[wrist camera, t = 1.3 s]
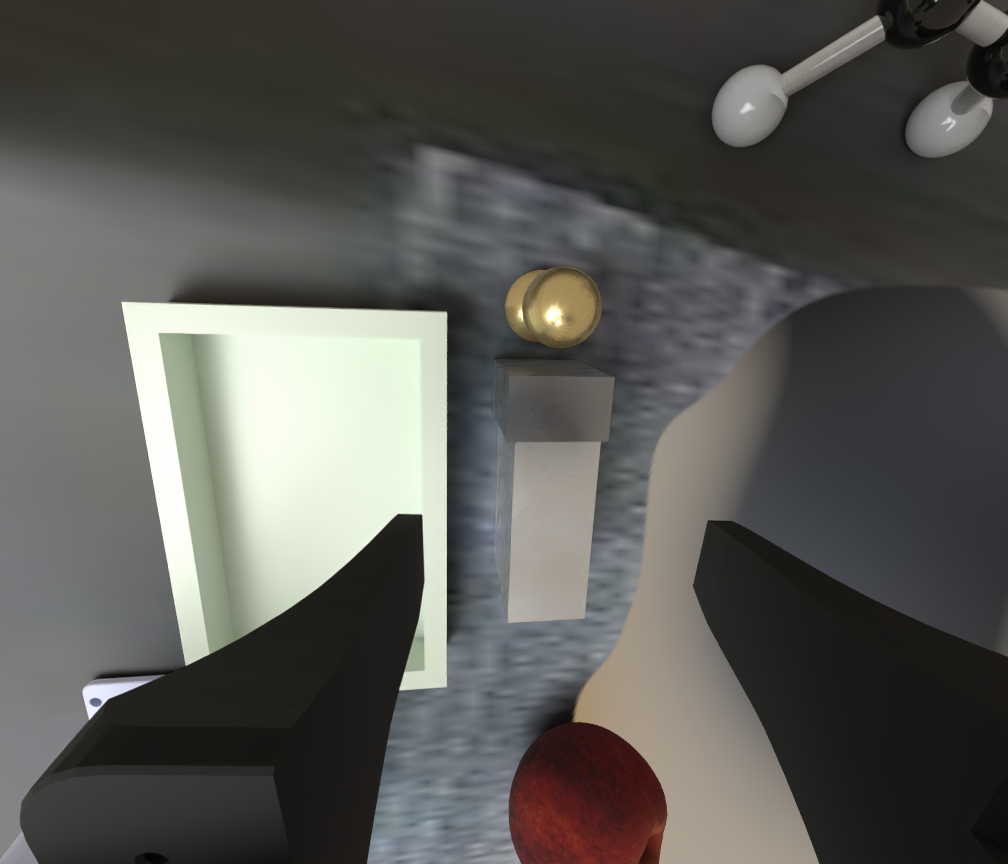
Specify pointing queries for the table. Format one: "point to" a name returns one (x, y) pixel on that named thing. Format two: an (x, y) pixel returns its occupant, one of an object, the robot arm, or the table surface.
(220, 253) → the table surface
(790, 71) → the molecular model
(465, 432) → the table surface
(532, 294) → the door knob
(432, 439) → the tray
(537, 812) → the apple
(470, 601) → the table surface
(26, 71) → the table surface
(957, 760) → the robot arm
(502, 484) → the strut
